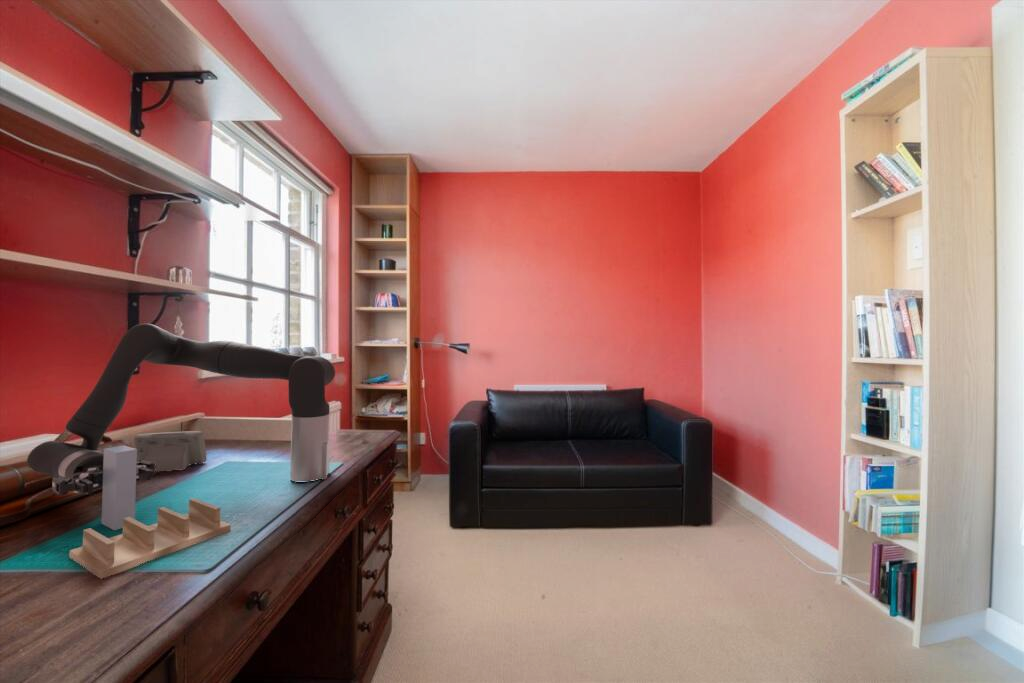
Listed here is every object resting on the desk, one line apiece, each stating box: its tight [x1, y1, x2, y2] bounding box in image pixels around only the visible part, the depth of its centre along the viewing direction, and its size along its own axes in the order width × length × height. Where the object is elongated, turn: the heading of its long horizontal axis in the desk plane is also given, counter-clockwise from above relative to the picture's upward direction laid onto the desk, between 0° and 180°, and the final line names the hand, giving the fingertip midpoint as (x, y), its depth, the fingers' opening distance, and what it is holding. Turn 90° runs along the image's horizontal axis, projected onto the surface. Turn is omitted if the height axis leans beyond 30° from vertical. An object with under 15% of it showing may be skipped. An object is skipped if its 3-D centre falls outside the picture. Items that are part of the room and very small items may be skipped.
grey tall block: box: [101, 445, 138, 531], centre depth 77 cm, size 3×6×15 cm, turn 63°
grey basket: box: [133, 430, 208, 473], centre depth 112 cm, size 16×9×11 cm, turn 100°
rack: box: [69, 497, 231, 579], centre depth 70 cm, size 18×13×4 cm
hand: (121, 481), depth 77 cm, fingers open, 8 cm apart
